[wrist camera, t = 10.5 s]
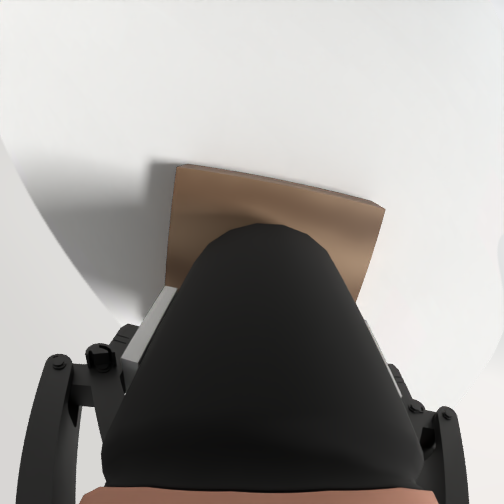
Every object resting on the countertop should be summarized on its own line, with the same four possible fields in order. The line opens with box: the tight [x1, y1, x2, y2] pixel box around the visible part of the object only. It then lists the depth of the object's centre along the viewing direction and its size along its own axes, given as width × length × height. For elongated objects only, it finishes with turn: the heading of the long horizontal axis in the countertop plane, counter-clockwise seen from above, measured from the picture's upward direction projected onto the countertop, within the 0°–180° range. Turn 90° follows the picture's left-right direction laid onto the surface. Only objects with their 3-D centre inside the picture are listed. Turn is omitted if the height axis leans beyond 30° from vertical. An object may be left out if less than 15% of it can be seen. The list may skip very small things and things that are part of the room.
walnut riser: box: [165, 164, 385, 303], centre depth 24 cm, size 15×15×3 cm
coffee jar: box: [79, 223, 439, 504], centre depth 13 cm, size 11×11×18 cm
